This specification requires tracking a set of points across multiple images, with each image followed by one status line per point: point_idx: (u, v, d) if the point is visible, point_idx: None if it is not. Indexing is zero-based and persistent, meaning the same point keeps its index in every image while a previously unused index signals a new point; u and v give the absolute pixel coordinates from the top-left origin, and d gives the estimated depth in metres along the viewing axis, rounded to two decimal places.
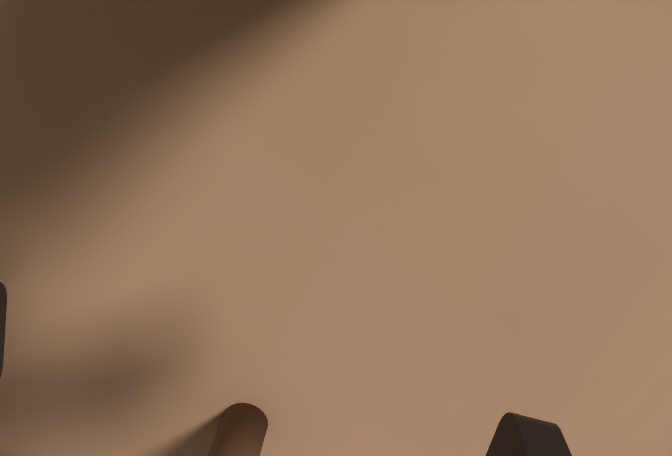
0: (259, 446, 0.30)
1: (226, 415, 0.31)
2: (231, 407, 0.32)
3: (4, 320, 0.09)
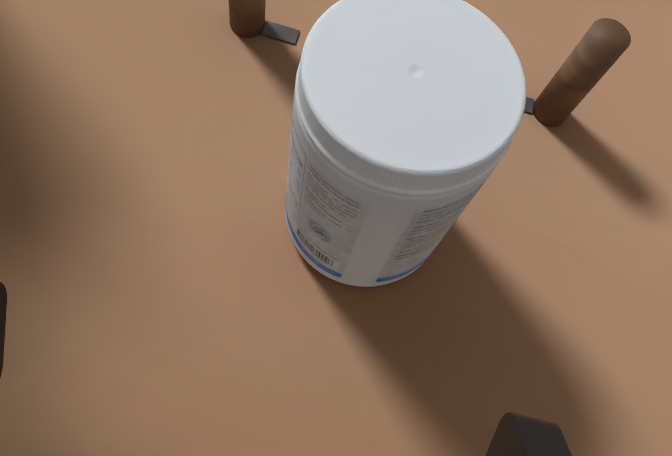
0: None
1: (233, 25, 0.41)
2: (231, 27, 0.41)
3: (4, 320, 0.09)
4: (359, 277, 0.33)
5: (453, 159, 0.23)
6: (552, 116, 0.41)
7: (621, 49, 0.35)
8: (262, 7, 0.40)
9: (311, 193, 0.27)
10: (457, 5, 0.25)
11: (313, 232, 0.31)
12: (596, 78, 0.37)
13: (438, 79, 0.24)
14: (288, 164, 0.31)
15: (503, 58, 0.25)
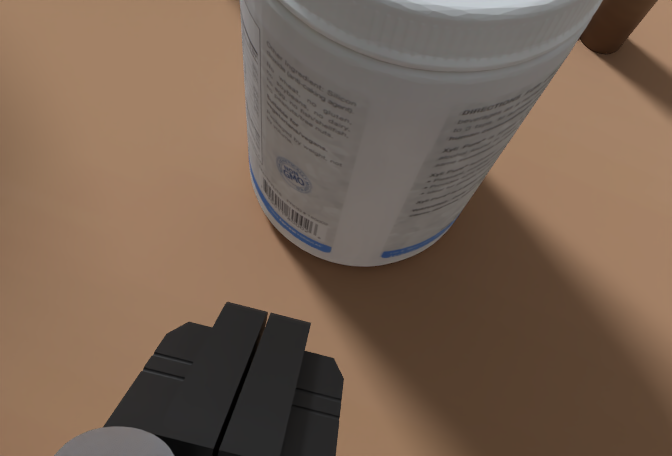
0: None
1: None
2: None
3: None
4: (357, 251, 0.23)
5: None
6: (607, 38, 0.31)
7: None
8: None
9: (274, 104, 0.17)
10: None
11: (284, 180, 0.20)
12: None
13: None
14: None
15: None
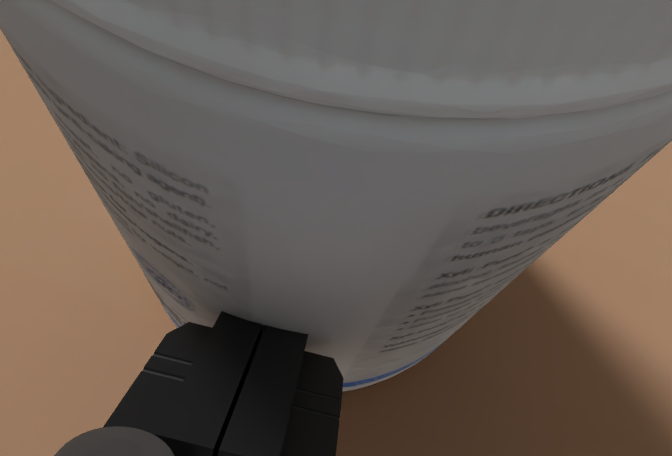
0: None
1: None
2: None
3: None
4: None
5: None
6: None
7: None
8: None
9: (80, 162, 0.08)
10: None
11: (155, 282, 0.11)
12: None
13: None
14: None
15: None
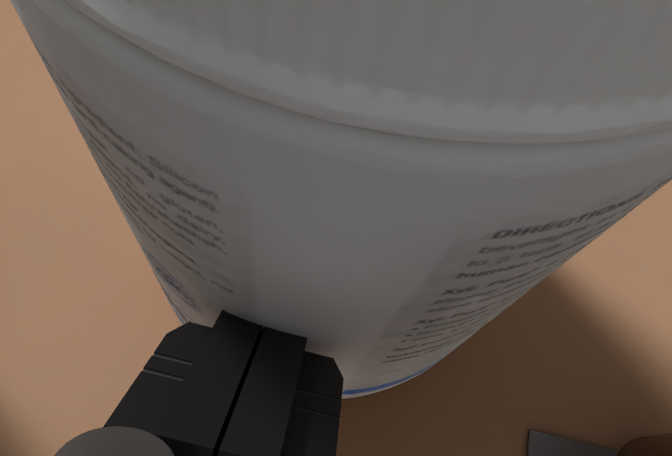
0: None
1: None
2: None
3: None
4: None
5: None
6: None
7: None
8: None
9: (96, 160, 0.08)
10: None
11: (162, 280, 0.11)
12: None
13: None
14: None
15: None
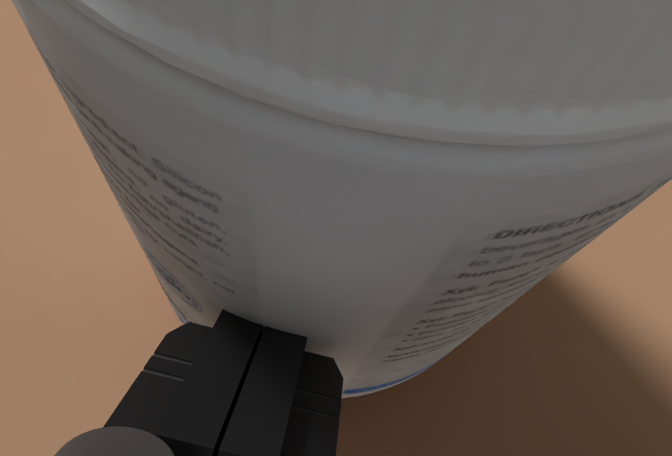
0: None
1: None
2: None
3: None
4: None
5: None
6: None
7: None
8: None
9: (98, 161, 0.08)
10: None
11: (164, 280, 0.11)
12: None
13: None
14: None
15: None
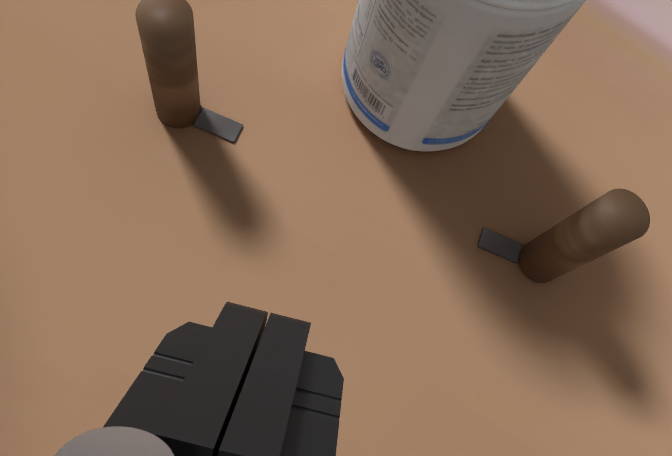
0: None
1: (157, 112, 0.33)
2: (157, 113, 0.33)
3: None
4: (406, 133, 0.33)
5: None
6: (540, 275, 0.33)
7: (635, 237, 0.26)
8: (192, 99, 0.31)
9: (383, 11, 0.27)
10: None
11: (371, 68, 0.30)
12: (599, 255, 0.29)
13: None
14: None
15: None
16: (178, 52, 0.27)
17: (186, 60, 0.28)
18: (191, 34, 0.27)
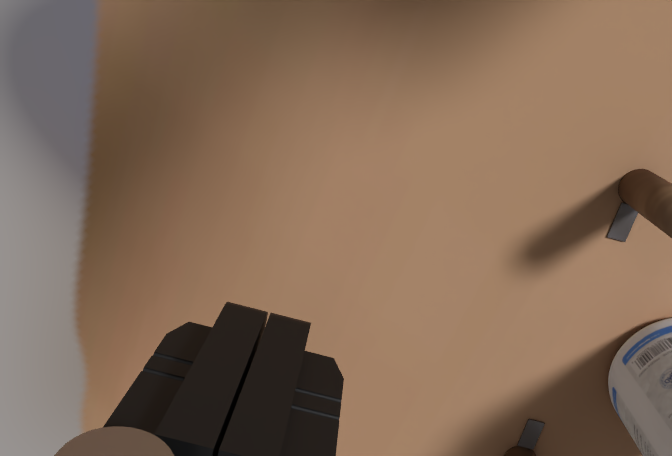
0: None
1: (631, 176, 0.37)
2: (631, 172, 0.38)
3: None
4: (619, 378, 0.40)
5: None
6: None
7: None
8: None
9: None
10: None
11: (671, 367, 0.36)
12: None
13: None
14: None
15: None
16: (669, 234, 0.32)
17: None
18: None
